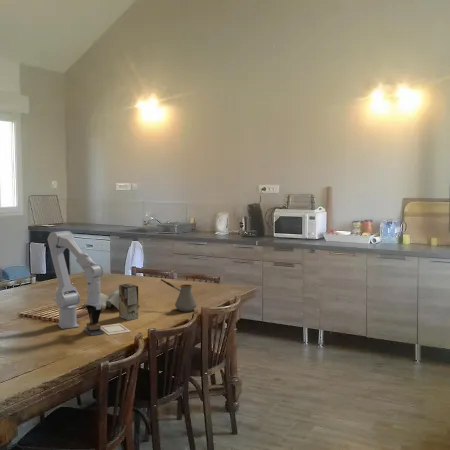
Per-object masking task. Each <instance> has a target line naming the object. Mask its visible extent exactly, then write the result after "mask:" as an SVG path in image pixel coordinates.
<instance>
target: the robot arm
mask: <svg viewBox="0 0 450 450" xmlns="http://www.w3.org/2000/svg"><path fill="white" fill-rule="evenodd" d="M47 244H48V247H49V251H50V252H49V253H50V255H51V256H50V257H51V260H52V264H53V268H54V271H55V276H56V279H57V284H58V287H59V288H58V289H57V291H55V303H56V306H57V307H58V322H57V323H56V325H57V326H58V327H59V328H61V329H62V330H63V329H69V328H70V329H71V328H79V327H80V325H79V324H78V323H77V307H78V305H79V303H80V302H81V295H80V294H79V292H78V289H77V287H75V286H74V285H72V282H71V278H70V274H69V270H68V267H67V262H66V258H65V254H64V252H65V250H66V249H68V250H69V251H70V252H71V253H72V254H73V255H74V257H75V258H76V260H75V261H76V263H77V264H78V265H79V266H80V268H81V269H82V271H83V275H84V278H85V281H86V293H87V295H86V297H87V298H86V302H84V305H85V308H86V311H87V313H88V318H89V319H90V314H91V316H92V322H93V324H95V323H99V320H100V316H101V313H102V311H103V308H102V307H101V301H100V293H101V277H102V276H103V273H104V268H103V267H102V265H101V264H99V263H96V262H95V261H94V260H93V259H92V258H91V257H90V255H89V254H88V253H87V252H83V251H82V249H81V248H80V247H79V245H78V244H77V242H76V241H75V235H74V234H73V233H72V232H71V231H70V230H63V231H51V232H50V233H49V234H48V237H47Z"/></svg>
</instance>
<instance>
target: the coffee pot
mask: <svg viewBox="0 0 450 450" xmlns="http://www.w3.org/2000/svg"><path fill="white" fill-rule="evenodd" d="M162 282H163V283H164V284H166V285H167V286H170V287H172V288H174V289H175V290H177V291H178V292H179V293H178V297H177V299H176V301H175V304H174V307H175V308H176V309H177V310H178V311H180V312H192V311H194V309H196V308H197V305H198V304H197V301H196V298H195V297H194V293H193V291H192V287H193V285H192V284H180V285H179V287H180V288H178V287H177V286H175V285H173V284H172V283H170V282H169V281H166V280H164V279H162V278H161V279H160V280H159V283H162Z"/></svg>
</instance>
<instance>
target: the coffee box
mask: <svg viewBox="0 0 450 450" xmlns="http://www.w3.org/2000/svg"><path fill="white" fill-rule="evenodd" d="M118 290H119V310H118V316H119V317H120V318H122V319H124V320H127V321H130V320H137V319H139V307H138V305H139V286H138V285H135V284H131V283H122V284H118Z"/></svg>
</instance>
